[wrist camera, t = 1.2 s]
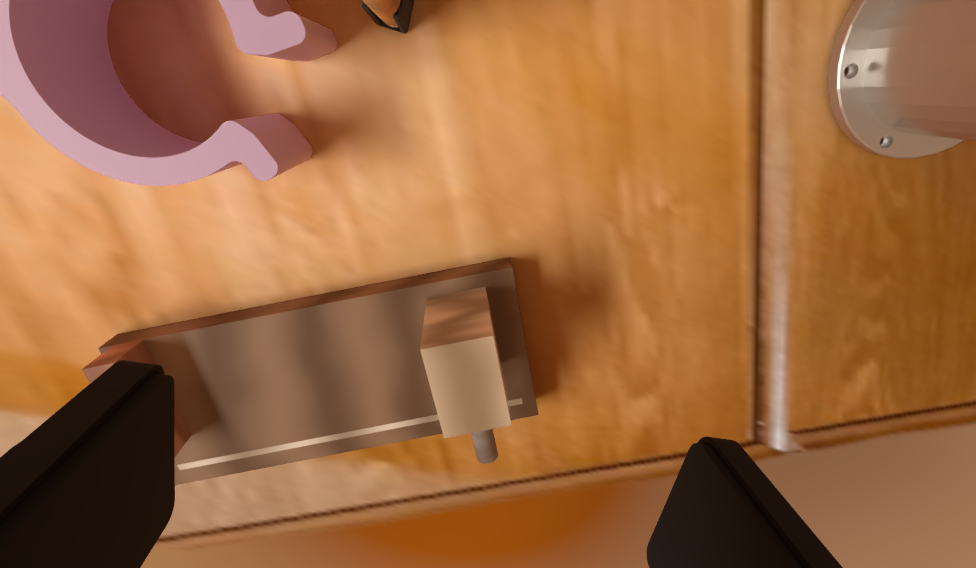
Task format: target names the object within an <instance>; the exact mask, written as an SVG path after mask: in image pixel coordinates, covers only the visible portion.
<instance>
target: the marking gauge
mask: <svg viewBox="0 0 976 568" xmlns="http://www.w3.org/2000/svg"><path fill="white" fill-rule="evenodd" d="M420 351H421V355H422V358H423V362H424V366H425V369H426V373H427V377H428V381H429V384H430V388H431V392H432V395H433V399H434V403H435V406H436V410H437V414H438V418H439V421H440V425H441V429H442V432H443V436H444V438H448V437H453V436H458V435H464V434H469V433H471V435H472V439H473V444H474V448H475V452H476V456H477V460H478V461H479V462H481V463H485V464H486V463H491V462H493V461H494V460H496V458H497V457H498V452H497V447H496V443H495V438H494V434H493V430H492V429H495V428H500V427H505V426H510V425H511V420H510V414H509V408H508V402H507V396H506V391H505V385H504V379H503V373H502V367H501V362H500V357H499V352H498V347H497V342H496V337H495V332H494V327H493V322H492V317H491V312H490V307H489V302H488V297H487V292H486V287H482V288H477V289H471V290H466V291H461V292H456V293H451V294H446V295H441V296H436V297H431V298H427V299H426V307H425V315H424V323H423V331H422V339H421V347H420Z"/></svg>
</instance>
